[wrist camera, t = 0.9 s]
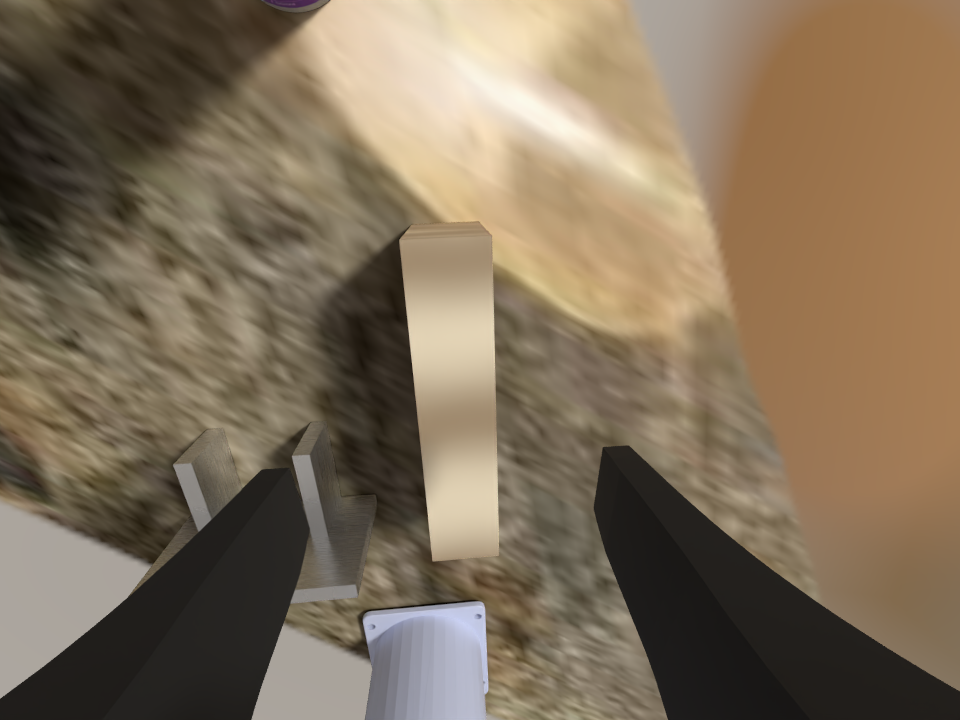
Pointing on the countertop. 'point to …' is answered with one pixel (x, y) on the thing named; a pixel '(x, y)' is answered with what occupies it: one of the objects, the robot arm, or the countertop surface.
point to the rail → (454, 382)
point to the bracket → (331, 517)
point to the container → (295, 4)
